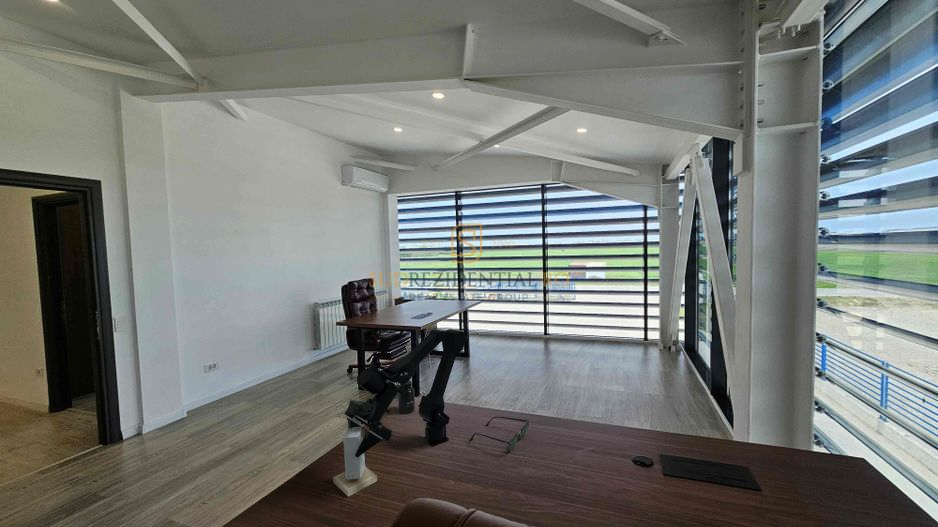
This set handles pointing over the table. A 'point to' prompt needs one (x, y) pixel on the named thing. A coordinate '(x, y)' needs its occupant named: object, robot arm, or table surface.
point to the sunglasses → (514, 440)
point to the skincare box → (353, 453)
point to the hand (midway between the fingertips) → (349, 452)
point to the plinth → (354, 482)
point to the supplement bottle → (406, 399)
